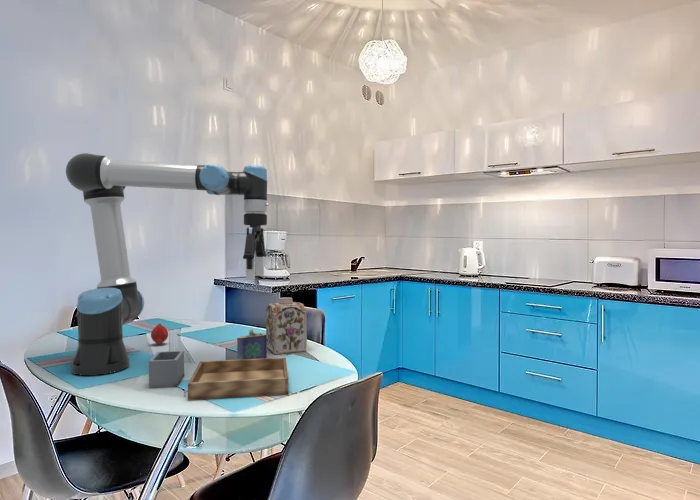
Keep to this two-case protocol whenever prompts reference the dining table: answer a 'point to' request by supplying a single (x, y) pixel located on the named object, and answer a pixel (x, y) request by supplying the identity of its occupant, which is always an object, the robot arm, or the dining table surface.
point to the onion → (159, 334)
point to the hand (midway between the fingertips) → (255, 277)
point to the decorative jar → (286, 326)
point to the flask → (252, 346)
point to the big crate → (239, 378)
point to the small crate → (166, 369)
